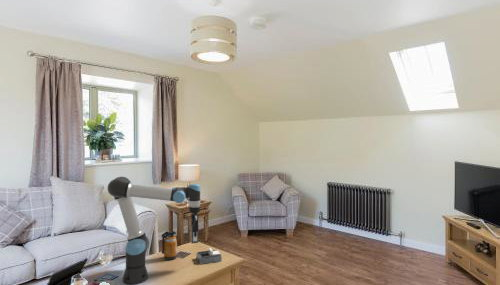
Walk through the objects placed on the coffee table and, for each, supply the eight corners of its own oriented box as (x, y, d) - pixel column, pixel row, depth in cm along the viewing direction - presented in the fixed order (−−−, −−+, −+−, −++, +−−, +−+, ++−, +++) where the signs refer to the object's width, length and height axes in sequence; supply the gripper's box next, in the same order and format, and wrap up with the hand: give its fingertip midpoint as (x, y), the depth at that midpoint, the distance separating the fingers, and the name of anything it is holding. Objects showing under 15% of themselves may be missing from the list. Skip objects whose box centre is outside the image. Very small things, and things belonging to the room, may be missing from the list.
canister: (177, 259, 226) (177, 232, 226) (161, 261, 223) (161, 233, 223) (176, 255, 235) (176, 229, 235) (161, 256, 232) (161, 230, 231)
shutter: (210, 255, 224) (211, 251, 224) (208, 252, 230) (208, 248, 230) (220, 254, 226) (220, 250, 226) (217, 251, 233) (217, 247, 233)
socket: (199, 264, 218) (199, 257, 218) (196, 258, 229) (196, 251, 229) (221, 261, 224) (221, 254, 224) (217, 255, 235) (217, 249, 235)
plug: (191, 243, 211) (191, 222, 211) (190, 241, 215) (190, 221, 215) (198, 242, 213) (198, 222, 213) (197, 241, 217) (197, 220, 217)
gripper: (202, 208, 207) (202, 243, 207) (197, 203, 223) (197, 235, 223) (191, 209, 205) (191, 244, 205) (187, 204, 221) (186, 236, 221)
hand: (194, 239), depth 214 cm, fingers closed on plug, 4 cm apart
